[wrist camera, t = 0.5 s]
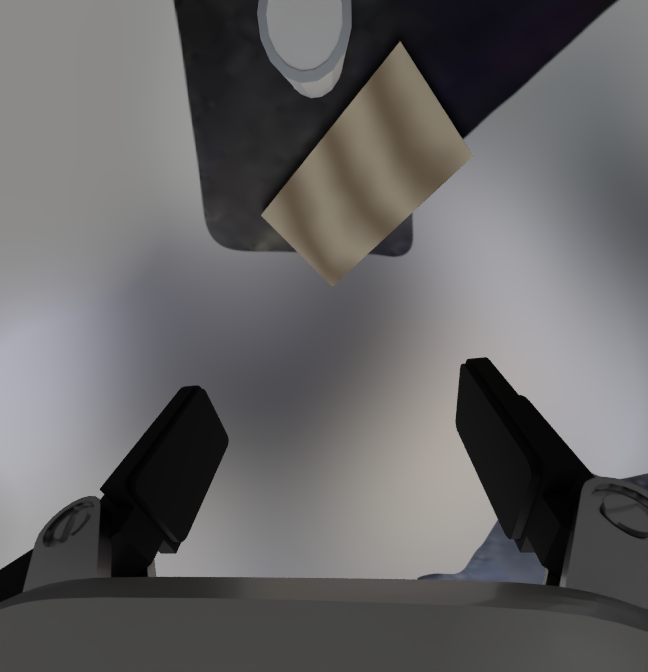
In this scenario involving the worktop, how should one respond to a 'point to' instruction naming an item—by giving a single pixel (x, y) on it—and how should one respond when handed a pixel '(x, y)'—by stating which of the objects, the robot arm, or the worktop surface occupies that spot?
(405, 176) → the birch board
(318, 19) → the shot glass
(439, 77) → the worktop surface
